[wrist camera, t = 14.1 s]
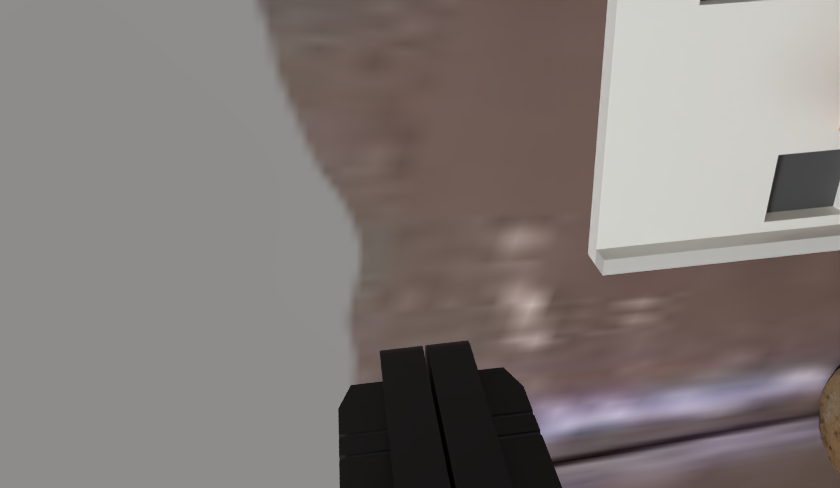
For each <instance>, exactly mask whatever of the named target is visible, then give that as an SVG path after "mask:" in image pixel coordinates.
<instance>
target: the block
mask: <svg viewBox="0 0 840 488" xmlns="http://www.w3.org/2000/svg"><path fill="white" fill-rule="evenodd" d="M819 430H820V433H821V439H822V442H823V444H824V447H825V449H826V451H827V453H828V455H829V461H830V462H831V464H832V465H833V467H834V468H835V470H836V471H837V472H838V474H839V475H840V368H839V369H838V370H836V371H835V372H834V374H833V376H832V377H831V378H830V379H829V380H828V382H827V384H826V386H825V388H824V390H823V392H822V395H821V398H820V416H819Z"/></svg>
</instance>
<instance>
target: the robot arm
mask: <svg viewBox="0 0 840 488" xmlns="http://www.w3.org/2000/svg"><path fill="white" fill-rule="evenodd" d="M380 360H381V370H382V380H383V382H375V383H366V384H358V385H351V386H350V388H349V390H348V392H347V394H346V396H345V397H344V400H343V401H342V403H341V405H340V407H339V457H340V461H339V462H340V463H339V467H340V488H562V486H561V484H560V481H559V478H558V476H557V473H556V471H555V468H554V465H553V463H552V460H551V458H550V455H549V452H548V450H547V447H546V444H545V442H544V439H543V437H542V435H541V434H540V429H539V426H538V423H537V421H536V418H535V416H534V415H533V410H532V408H531V405H530V402H529V400H528V397H527V395H526V392H525V389H524V387H523V386H522V385H521V384H520V383H519V382H518V381H517V380H516V379H515V378H514V377H513V376H512V375H511V374H510V373H509V372H508V371H507V370H506V369H504V368H503V367H502V368H493V369H485V370H478V369H477V366H476V363H475V359H474V356H473V353H472V349H471V346H470V343H469V341H460V342H451V343H442V344H433V345H426V346H425V356H424V351H423V347H422V346H417V347H408V348H399V349H391V350H382V351H380ZM425 360H426V361H425Z"/></svg>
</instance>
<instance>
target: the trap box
mask: <svg viewBox="0 0 840 488" xmlns="http://www.w3.org/2000/svg"><path fill="white" fill-rule="evenodd" d="M839 126H840V0H608V4H607V17H606V29H605V42H604V55H603V68H602V81H601V94H600V106H599V119H598V132H597V145H596V158H595V171H594V183H593V196H592V209H591V222H590V235H589V248H588V255H589V256H590V258H591V259H592V261H593V262H594V264H595V265H596V266H597V268H598V269H599V271H600V272H601V274H602V275H612V274H621V273H630V272H640V271H649V270H658V269H668V268H677V267H686V266H696V265H705V264H714V263H724V262H733V261H742V260H752V259H761V258H770V257H780V256H789V255H798V254H808V253H817V252H826V251H836V250H840V131H838V130H839Z"/></svg>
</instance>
